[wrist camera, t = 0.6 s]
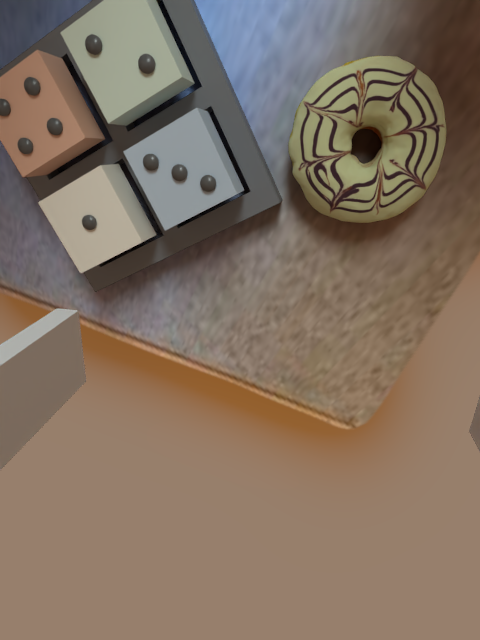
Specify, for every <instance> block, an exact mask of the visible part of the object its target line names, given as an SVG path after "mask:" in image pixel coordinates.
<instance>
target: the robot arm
mask: <svg viewBox="0 0 480 640" xmlns="http://www.w3.org/2000/svg"><path fill="white" fill-rule="evenodd" d="M85 382H86V376H85V368H84V358H83V349H82V340H81V331H80V322H79V313H78V311H77V310H68V309H58V308H57V309H55V310H54V311H52V312H51V313H49V314H48V315H46V316H45V317H43V318H41V319H40V320H38V321H37V322H35V323H34V324H32V325H30V326H29V327H27V328H26V329H24V330H23V331H21V332H20V333H18V334H17V335H15V336H13V337H12V338H10V339H9V340H7V341H5V342H4V343H2V344H1V345H0V470H1V469H2V468H3V467H4V466H5V465H6V464H7V462H8V461H10V460H11V458H13V456H14V455H15V454H16V453H17V452H18V451H19V450H20V449H21V448H22V447H23V446H24V445H25V444H26V443H27V442H28V441H29V440H30V439H31V438H32V437H33V436H34V435H35V434H36V433H37V432H38V431H39V429H40V428H41V427H42V426H43V425H44V424H45V423H46V422H47V421H48V420H49V419H50V418H51V417H52V416H53V415H54V414H55V413H56V412H57V411H58V410H59V409H60V408H61V407H62V406H63V405H64V404H65V403H66V401H68V399H69V398H70V397H71V396H72V395H73V394H74V393H75V392H76V391H77V390H78V389H79V388H80V387H81V386H82V385H83V384H84V383H85ZM470 434H471V436H472V438H473V440H474V441H475V443H476V445H477V447H478V449H479V451H480V397H479V401H478V404H477V407H476V411H475V414H474V418H473V421H472V424H471V427H470Z"/></svg>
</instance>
